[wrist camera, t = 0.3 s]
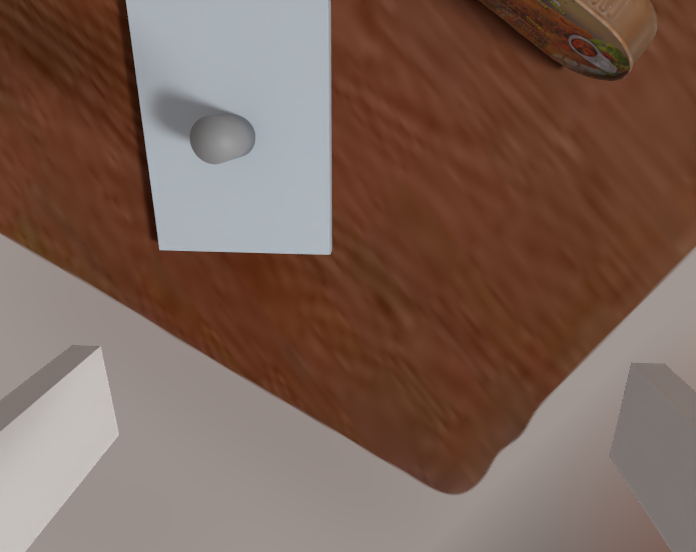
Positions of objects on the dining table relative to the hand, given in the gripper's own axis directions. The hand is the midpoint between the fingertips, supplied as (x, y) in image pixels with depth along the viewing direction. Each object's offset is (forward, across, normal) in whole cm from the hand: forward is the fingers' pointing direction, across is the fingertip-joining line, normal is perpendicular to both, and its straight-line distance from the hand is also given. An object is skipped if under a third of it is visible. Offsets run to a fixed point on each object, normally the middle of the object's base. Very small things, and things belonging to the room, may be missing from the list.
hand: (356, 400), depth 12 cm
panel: (+27, -10, +5) cm, 29 cm away
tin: (+27, +10, +14) cm, 32 cm away
